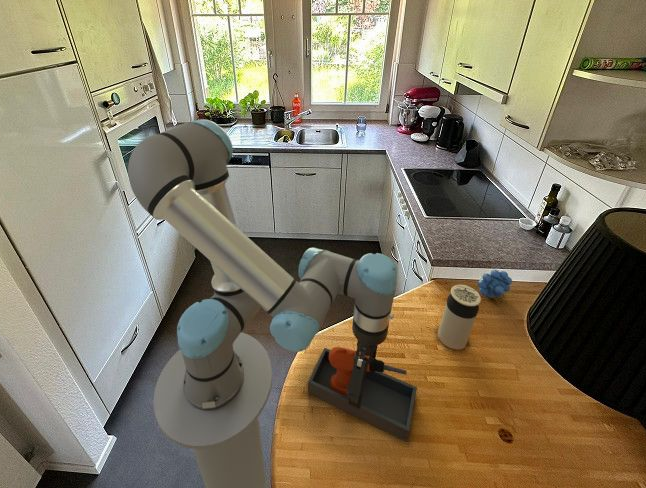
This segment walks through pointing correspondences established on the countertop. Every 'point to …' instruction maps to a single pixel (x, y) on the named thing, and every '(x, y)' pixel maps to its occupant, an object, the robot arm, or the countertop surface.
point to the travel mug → (459, 316)
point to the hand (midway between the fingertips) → (362, 380)
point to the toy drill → (344, 365)
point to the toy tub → (369, 398)
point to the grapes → (494, 283)
